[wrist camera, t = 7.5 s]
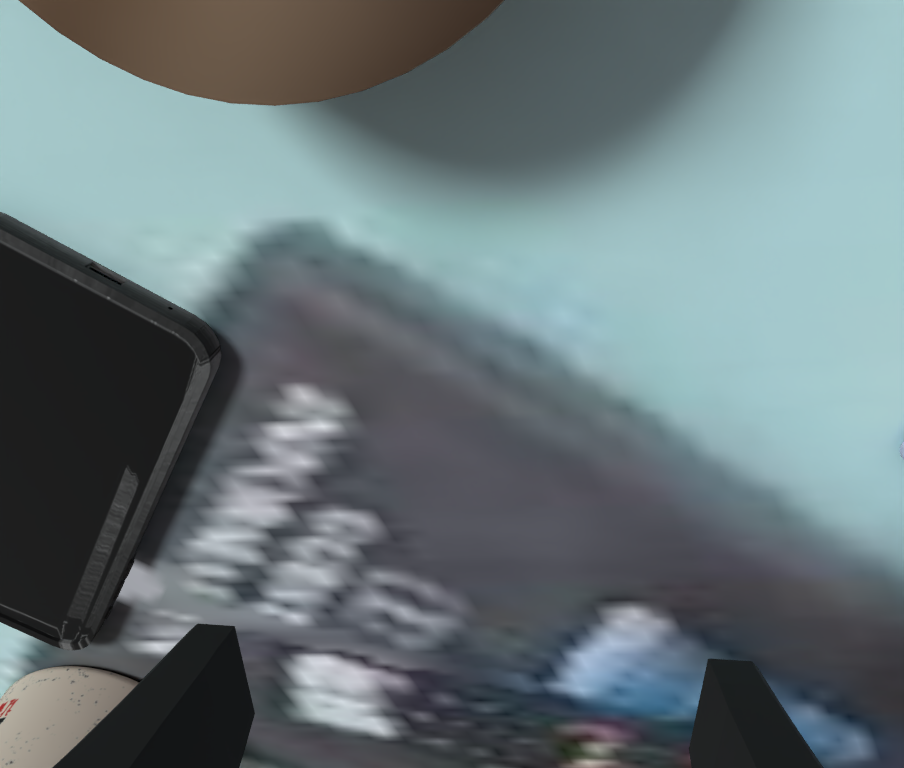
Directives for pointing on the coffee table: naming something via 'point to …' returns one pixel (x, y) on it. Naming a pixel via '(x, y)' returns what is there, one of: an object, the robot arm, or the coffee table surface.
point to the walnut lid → (265, 42)
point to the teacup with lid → (55, 712)
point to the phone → (84, 428)
